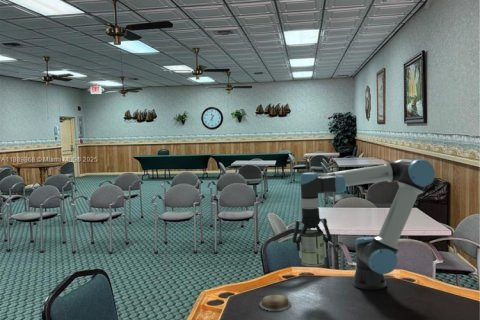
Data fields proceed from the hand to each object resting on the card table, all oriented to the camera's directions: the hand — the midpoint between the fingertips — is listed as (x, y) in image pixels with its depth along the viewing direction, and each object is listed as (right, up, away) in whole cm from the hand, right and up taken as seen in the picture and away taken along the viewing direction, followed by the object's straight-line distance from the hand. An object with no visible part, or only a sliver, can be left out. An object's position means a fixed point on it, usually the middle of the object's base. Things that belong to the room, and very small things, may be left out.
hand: (312, 257), depth 195 cm
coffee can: (0, -3, 0) cm, 3 cm away
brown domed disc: (-17, -20, -4) cm, 27 cm away
